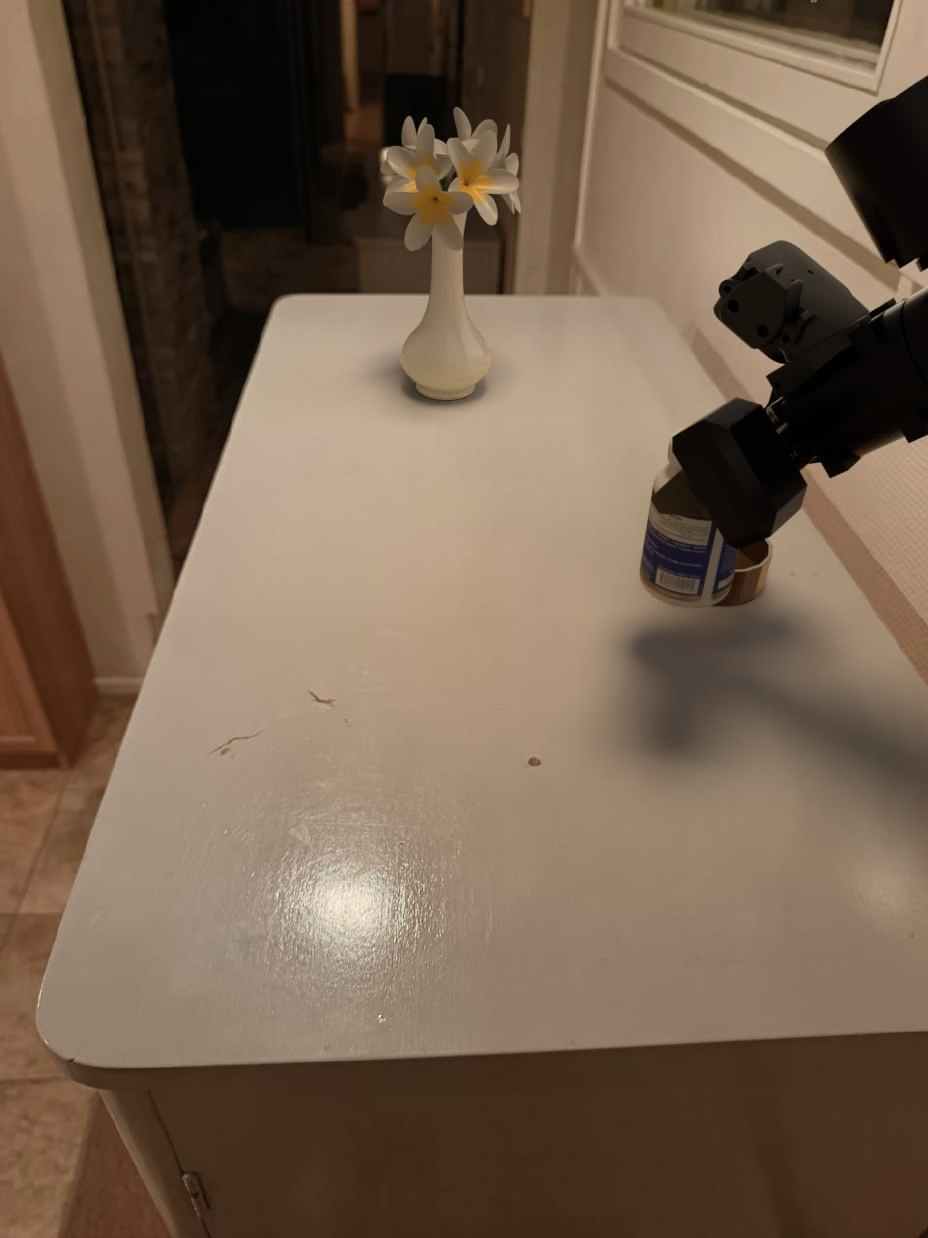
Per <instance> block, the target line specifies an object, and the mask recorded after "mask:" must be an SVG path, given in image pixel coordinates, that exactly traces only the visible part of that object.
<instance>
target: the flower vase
mask: <svg viewBox="0 0 928 1238" xmlns="http://www.w3.org/2000/svg"><path fill="white" fill-rule="evenodd" d="M453 119H454V123H455V127H456V132H457V137H450V138H448V140H447V141H446V143H445V142H444V141H443V140H440V139H437V138H436V137H435V130H434V127H433V126H432V124H428V118H427V117H424V118H422V120H421V123H420V124H419V127H418V130H416V126H415V122H414V120H413V118H412V116H410V115H408V116H407V117H406V118H405V119H404V122H403V124H402V130H401V144H402V146H399V145H393V146H390V147H389V148H388V149H387V151H386V153H385V159H384V160H383V162H382V164H381V165H380V173H382V174H383V175H391V174H393V175H394V174H395V175H394V176H393V177H392V178H391V179H390V181H389V182H388V184H387V186H386V189H385V191H384V195H383V196H384V197H383V198H382V199H383V200H382V203H383V206H384V207H387V208H388V209H389V210H391V211H392V212H394V213H396V214H399V215H403V216H411V215H413V216H412V218H411V220H410V221H409V223H408V225H407V227H406V229H405V233H404V246H405V248H406V249H407V250H409V251H411V252H414V251H415V252H416V251H418V250H420V249H421V248H423V247H424V246H425V245H426V243H427V242H428V241H429V239H430V238H431V262H430V263H431V265H430V285H429V295H428V302H427V305H426V309H425V312H424V314H423V317H422V319H421V321H420V322H419V324H417V326H416V327H415V328H414V329H413V330H412V331H410V333H409V334H408V335H407V337H406V338H405V340H404V343H403V344H402V347H401V349H400V355H399V359H400V360H399V361H400V364H401V367H402V369H403V371H404V372H405V374H407V376H408V377H409V378H410V379H411V380H412V381H413V382H414V383H415V387H416V390H417V392H419V394H421V395H422V396H425V397H427V398H429V399H433V400H438V401H439V400H440V401H453V400H454V401H455V400H459V399H460V400H461V399H463V398H466V397H468V396H470V395H472V393H474V391H475V388H476V384H477V383H478V382H480V381H481V380H482V379H483V378H484V376H485V375H486V374H487V373H488V372H489V369H490V367H491V364H492V352H491V349H490V346H489V344H488V342H487V340H486V339H485V337H484V335H483V334H482V333H481V332H480V331H479V330H478V329H477V328H476V327H475V326H474V324H473V322H472V321H471V318H470V316H469V313H468V309H467V306H466V301H465V300H466V299H465V292H464V291H465V290H464V245H465V242H464V235H465V227H466V222H467V215H468V212H469V211H470V210H471V209H472V208H473V207H475V209H476V210H477V212H478V214H479V216H480V217H481V218H482V220H483V221H484V223H486V224H487V225H489V226H495V225H496V224H497V222H498V219H499V215H498V214H499V212H498V208H497V205H496V202H495V199H494V198H493V197H492V196H491V195H500V196H501V197H502V198H503V200H504V202H505V203H506V204H507V206H508V207H509V210H510V211H511V213H512V214H513V215H515V210H516V211H517V212H518V213H519V214H521V213H522V206H521V200H520V197H519V194H518V192H517V190H518V189H519V187H520V181H519V180H520V179H519V178H518V177H517V174H518V173H519V172H518V171H519V157H518V154H517V153H516V152H513V153H510V154H509V155H508V153H509V149H510V144H511V142H510V141H511V125H510V123H508V124H507V126H506V130H505V133H504V136H503V139H502V141H501V144H500V147H499V149H498V139H497V138H498V126H497V123H496V122H495V121H494V120H493V119H485V120H483V121H481V122H480V123H479V124H478V125H477V127H476V128H475V130H474V131H473V133H472V125H471V123H470V121H469V118H468V116H467V115H466V114H465V112H464V111H463V110H462V109H461V108H460V107H457V106H455V107H454V108H453ZM507 155H508V156H507ZM454 173H456V175H457V176H456V177H455V178H454V179H453V174H454ZM452 179H453V180H452Z"/></svg>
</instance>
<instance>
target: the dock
mask: <svg viewBox="0 0 928 1238" xmlns="http://www.w3.org/2000/svg"><path fill="white" fill-rule="evenodd" d="M773 549H774V547H773V543H772V542H771V541H770V539H769V538H766V539H764V540H761V541H759V542H756V543H754V544H752V545H749V546H747V547H744V548H742V549H740V552H739V556H738V560H737V564H736V569H735V573H734V577H733V581H732V585H731V588H730V591H729V593H728V594H727V595H726V597H725V598H723V599H722V600H721V601H719V602H718V603H716V604H713V605H712V606H734V605H739V604H744V603H747V602H748V601H751V600H753V599H754V598H756V597H757V596H758V595H759V594H760V593H761V591H762V589H763V586H765V583H766V579H767V577H768V572H769V569H770V565H771V562H772V559H773V551H774V550H773Z"/></svg>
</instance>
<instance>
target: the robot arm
mask: <svg viewBox="0 0 928 1238" xmlns="http://www.w3.org/2000/svg"><path fill="white" fill-rule="evenodd" d="M823 155H824V157H825V159H826V160H827V163H828V164H829V166H830V168H831V170H832V172H833V173H834V175H835V177H836V179H837V180H838V182H839V184H840V186H841V188H842V189H843V191H844V193H845V195H846V197H847V198H848V200H849V202H850V204H851V206H852V208H853V209H854V211H855V213H856V215H857V217H858V219H859V220H860V222H861V224H862V225H863V228H864V229H865V231H866V233H867V234H868V237H869V238H870V240H871V242H872V244H873V245H874V247H875V249H876V251H877V253H878V254H879V256H880V258H881V260H882V262H883V264H884V265H887V264H889V263H890V262H892V261H894V262H895V263H896V265H897V267H898V269H899V270H900V269H902V268H904V267H905V266H907V265H909V264H910V263H912V262H914V264H915V265H916V268H917V269H918V271H919V273H922V272H924V271H926V270H927V269H928V74H927V75H925V76H924V77H923V78H921V79H919V80H917V81H916V82H915V83H913V84H912V85H910V86H909V87H907V88H906V89H904V90H903V91H901V92H900V93H898V94H897V95H895V96H894V97H891V98H887V99H883V100H881V101H879V102H878V103H876V104H875V105H874V106H872V107H871V108H869V109H868V110H867V111H866V112H864V113H863V114H862V115H860V116H859V117H858V118H857V119H856V120H855V121H853V122H852V123H851V124H849V126H847V127H846V128H845V129H844V130H843V131H842V132H841V133H839V134H838V135H836V137H835V138H834V139H833V140H832V141H830V143H829V144H828V146H826V147H825V149H824V151H823ZM915 260H916V261H915ZM718 294H719V298H718V300H717V301H716V302H715V303H714V305H713V308H712V309H713V310H712V311H713V314H714V316H715V318H716V319H717V320H718V321H719V322H720V323H721V324H722V325H723V326H724V327H726V328H727V329H728V330H729V331H730V332H732V333H733V334H734V335H735V336H736V337H737V338H738V339H739V340H741V341H742V342H744V344H745V345H747V347H749V348H750V349H752V350H759V352H761V353H762V354H763V355H764V356H766V357H767V358H768V359H769V360H771V361H772V362H775V363H778V364H780V365H781V366H779V367H778V368H776V369H774V370H773V371H770V372H769V373H768V374H766V375H765V378H766V380H767V382H768V383H769V385H770V387H771V392H770V394H769V395H770V396H769V399H768V401H767V404H766V405H765V406H763V405H762V404H761V403H757V402H754V401H751V400H748V399H744V398H742V397H738V396H735V397H733V398H732V399H729V400H728V401H726V402H725V403H723V404H722V405H720V406H718V407H716V408H714V409H713V410H711V411H710V412H708V413H707V414H705V415H703V416H702V417H699V418H698V419H697V420H696V421H694V422H692V423H691V424H689V425H687V426H688V427H686V428H685V429H683V430H682V431H680V432H679V433H677V434H676V435H674V436H673V437H672V452H673V454H674V455H675V457H676V459H677V460H678V462H679V464H680V466H681V467H682V469H681V470H680V471H679V472H678V473H677V474H676V475H675V476H673V477H672V478H671V479H670V480H669V481H668V482H667V483H666V484H665V485H663V486H662V487H661V488H660V489H659V490H658V491H657V492H656V493H655V494H653V495H652V496H651V495H650V501H652V503H653V505H654V507H655V508H656V510H657V511H658V513H660V514H669V515H681V516H693V517H705V518H712V520H713V522H714V524H715V525H716V527H717V529H718V530H719V532H720V534H721V535H722V537H723V539H724V541H725V542H726V544H727V545H729V546H731V547H733V548H735V549H737V550H739V549H742V548H744V547H747V546H749V545H752V544H754V543H756V542H759V541H761V540H764V539H766V538H768V539H769V538H771V537H772V536H773V535H774V534H775V533H776V532H778V531H779V529H781V528H782V527H783V526H784V525H785V524H786V523H787V522H788V521H789V520H790V519H792V518H793V517H794V516H795V515H796V514H797V513H798V512H799V511H800V510H801V509H802V506H803V503H804V499H805V497H806V496H805V495H806V493H807V489H808V486H809V485H808V483H807V481H806V479H805V477H804V476H803V474H802V472H801V471H802V470H804V469H805V468H806V467H807V466H808V465H813V464H819V463H820V464H821V466H822V467H823V469H824V471H825V473H826V475H827V477H828V478H829V479H832V478H835V477H837V476H839V475H843V474H844V473H847V472H848V471H850V470H851V468H853V466H855V465H856V464H857V463H858V462H859V461H860V460H861V459H862V458H863V457H864V456H866V455H868V454H870V453H873V452H875V451H877V450H879V449H882V448H883V447H886V446H888V445H890V444H892V443H894V442H897V441H899V440H902V439H903V438H905V441H906V443H908V444H911V443H913V442H915V441H918V440H920V439H921V438H925V437H926V436H928V285H927V286H926V287H924V288H921V289H920V290H919V291H917V292H915V293H914V294H911V295H910V296H908V297H904V298H901V299H900V300H898V301H897V300H896V299H895V297H891V298H890V299H888V300H886V301H884V302H882V304H880V305H878V306H876V307H874V308H873V309H871V310H869V308H868V307H866V306H865V305H864V304H863V303H862V302H861V301H860V300H859V299H858V298H857V297H855V296H854V295H853V294H852V292H851V290H850V289H849V288H848V287H847V286H846V285H845V284H844V283H843V282H842V281H840V280H839V279H838V278H837V277H835V275H833V274H832V273H830V272H829V271H828V270H827V269H826V268H825V267H823V266H822V265H821V264H820V263H818V262H817V261H816V260H814V258H812V257H811V256H810V255H809V254H807V253H806V252H805V251H804V250H802V248H800V247H799V246H798V245H796V244H794V243H793V242H790V241H787V240H785V239H779V240H776V241H774V242H771V243H769V244H766V245H765V246H763V247H761V248H758V249H756V250H754V251H751V252H750V253H749V254H748V255H747V257H746V258H745V260H744V261H743V263H742V264H741V266H740V267H739V269H738V270H737V271H736V273H734V275H732V276H730V277H728V278H726V279H724V280H722V281H721V282H720V283H719V285H718Z"/></svg>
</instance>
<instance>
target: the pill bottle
mask: <svg viewBox="0 0 928 1238" xmlns="http://www.w3.org/2000/svg"><path fill="white" fill-rule="evenodd" d="M688 426H689V425H686V426H683V427H680V428H677V430H674V431H673V432H672V433H671V435H670V437H669V441H668V442H669V443H668V447H667V455H666V458H667V461H668V463H665V465H664V466H662V467H661V468H660V469H659V470H658V471H657V473H656V475H655V477H654V479H653V484H652V490H651V495H650V497H651V496H652V495H653V494H655V493H656V492H657V491H658V490H659V489H660V488H661V487H662V486H663V485H665V484H666V483H667V482H668V481H669V480H670V479H671V478H672V477H673V476H675V475H676V474H677V473H678V472H679V471H680V470H681V469H682V467H681V466H680V464H679V462H678V460H677V459H676V457H675V455H674V454H673V452H672V437H673V436H674V435H676V434H677V433H679V432H680V431H682V430H683V429H685V428H686V427H688ZM648 507H649V508H648V513H647V521H646V527H645V533H644V540H643V546H642V551H641V559H640V565H639V572H638V573H639V580H640V582H641V585H642V587H643V588H644V590H645V591H646V592H647V593H649V595H651V597H653V598H654V599H657V600H658V601H660V602H662V603H665V604H667V605H670V606H674V607H679V608H685V609H701V608H707V607H710V606H714V605H713V604H716V603H718V602H719V601H721V600H722V599H723V598H725V597H726V595H727V594H728V593H729V591H730V588H731V585H732V581H733V577H734V573H735V569H736V564H737V560H738V556H739V552H740V549H739V550H737V549H735V548H733V547H731V546H729V545H727V544H726V542H725V541H724V539H723V537H722V535H721V534H720V532H719V530H718V529H717V527H716V525H715V524H714V522H713V520H712V518H705V517H693V516H681V515H669V514H660V513H658V511H657V510H656V508H655V507H654V505H653V503H652V501H651V500H650V502H649V506H648Z"/></svg>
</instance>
